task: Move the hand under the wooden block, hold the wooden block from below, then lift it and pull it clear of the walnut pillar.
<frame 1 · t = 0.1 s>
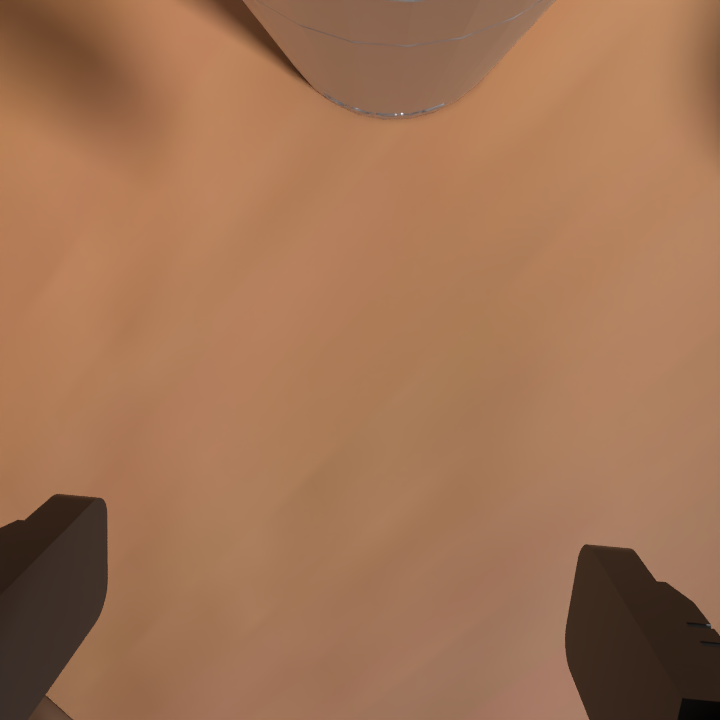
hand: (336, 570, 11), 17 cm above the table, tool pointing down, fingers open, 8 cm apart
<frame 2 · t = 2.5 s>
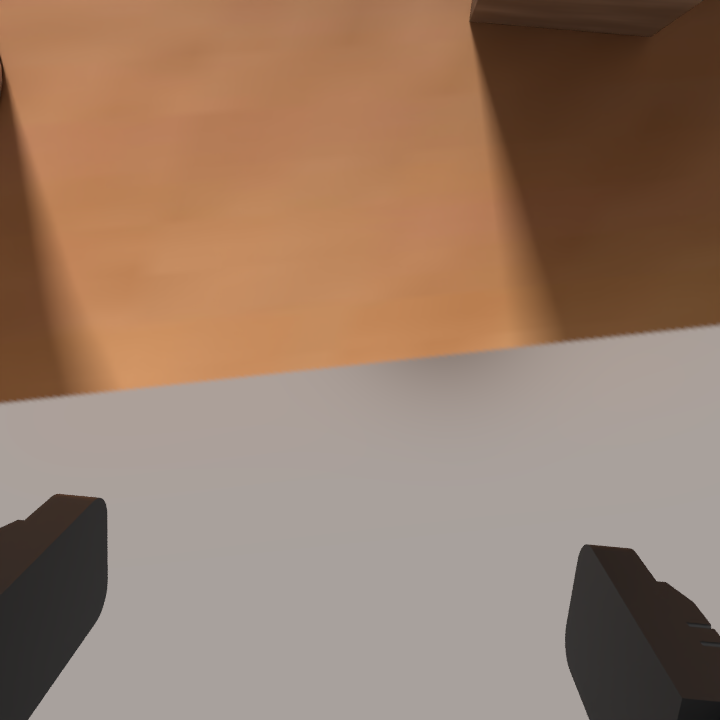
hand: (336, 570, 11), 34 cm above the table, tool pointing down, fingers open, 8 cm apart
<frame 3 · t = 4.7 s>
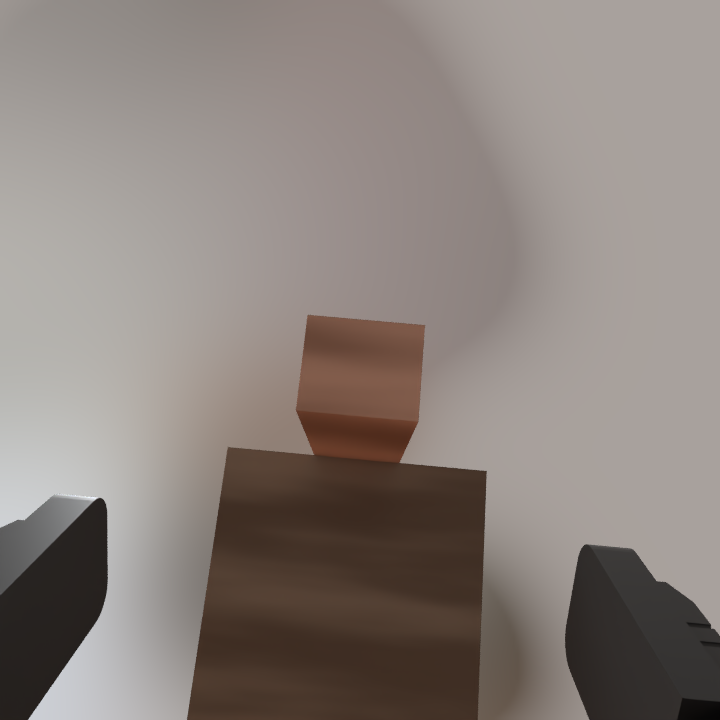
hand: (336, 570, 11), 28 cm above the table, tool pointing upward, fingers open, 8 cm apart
wooden block: (356, 468, 31), point 32 cm above the table, touching walnut pillar
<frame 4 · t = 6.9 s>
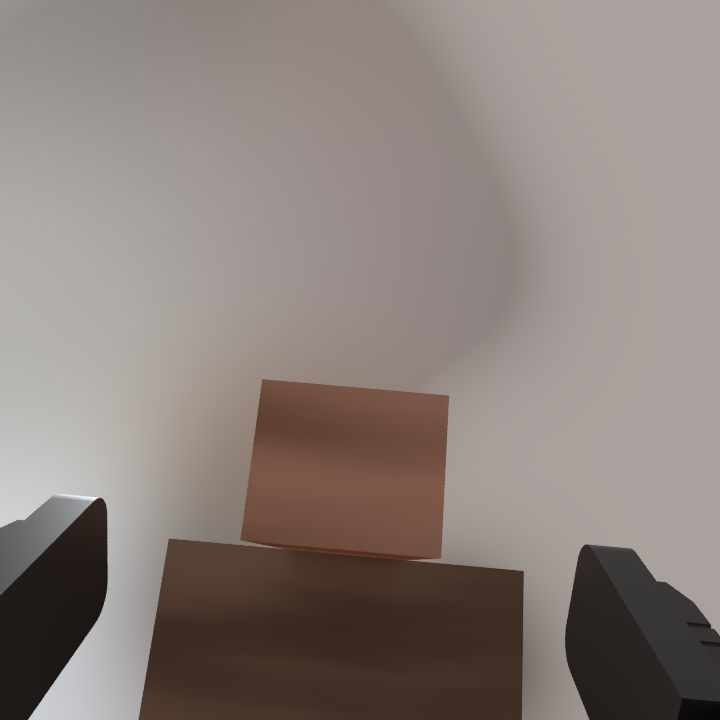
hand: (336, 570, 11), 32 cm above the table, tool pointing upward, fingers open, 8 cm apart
wooden block: (346, 555, 23), point 32 cm above the table, touching walnut pillar
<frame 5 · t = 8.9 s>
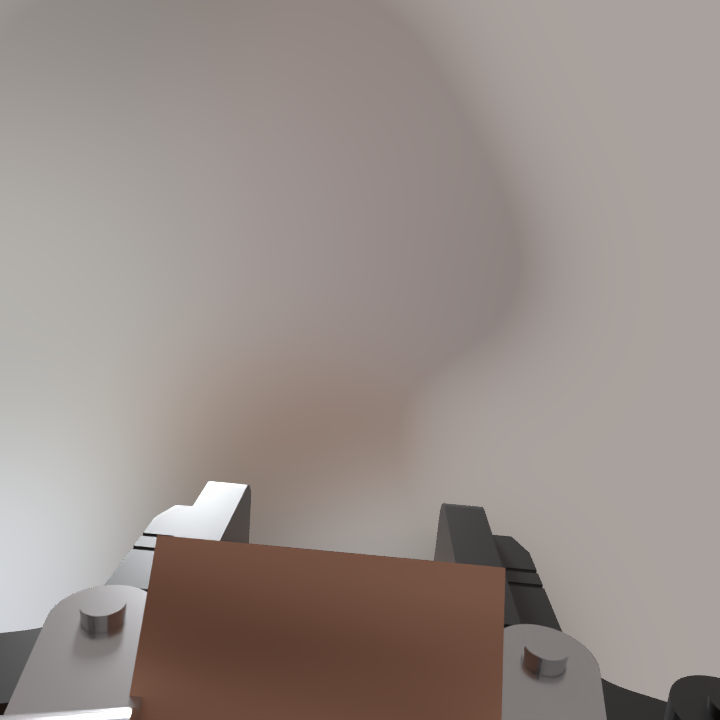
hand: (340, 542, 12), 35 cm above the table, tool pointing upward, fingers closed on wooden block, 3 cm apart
wooden block: (334, 673, 17), point 32 cm above the table, touching gripper, walnut pillar
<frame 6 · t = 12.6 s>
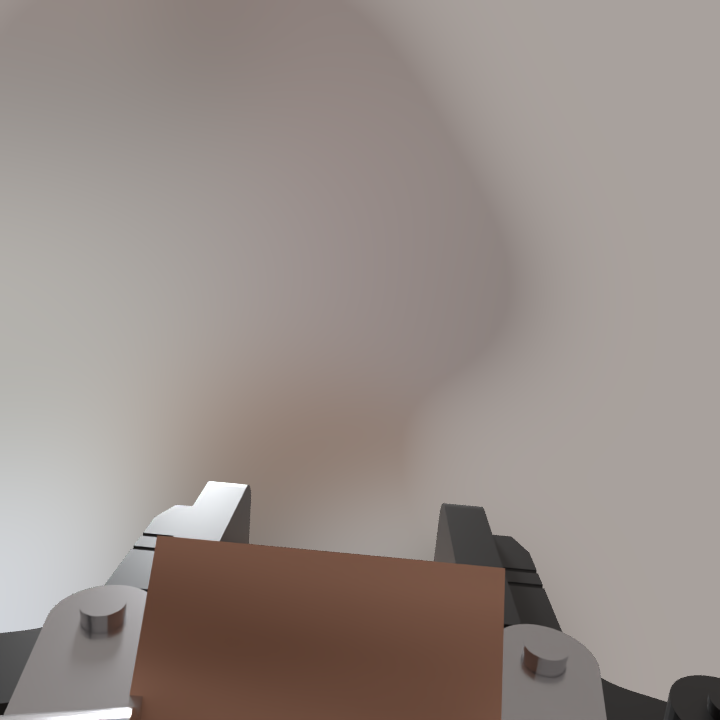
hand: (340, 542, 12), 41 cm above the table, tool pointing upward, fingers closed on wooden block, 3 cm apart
wooden block: (334, 673, 17), point 38 cm above the table, touching gripper
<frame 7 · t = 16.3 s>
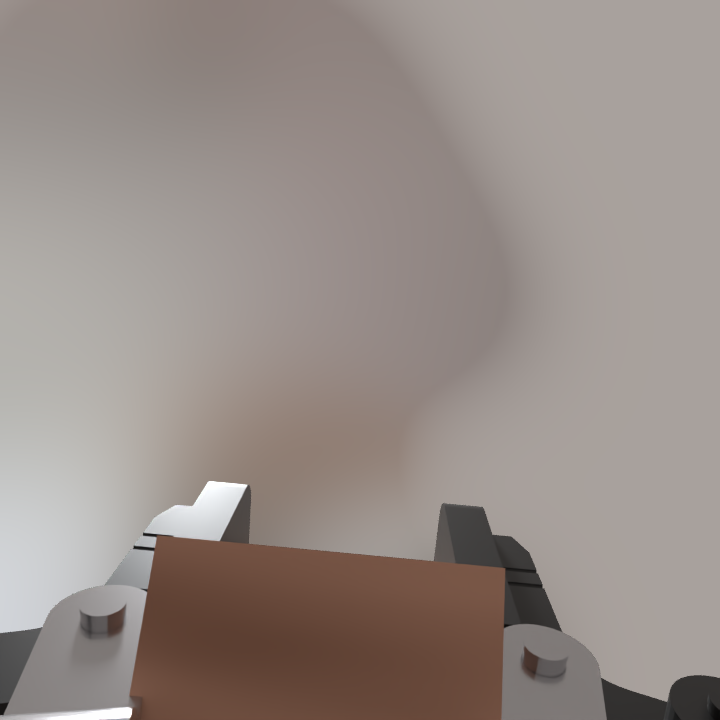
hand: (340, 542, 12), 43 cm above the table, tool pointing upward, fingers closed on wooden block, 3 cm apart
wooden block: (334, 673, 17), point 40 cm above the table, touching gripper
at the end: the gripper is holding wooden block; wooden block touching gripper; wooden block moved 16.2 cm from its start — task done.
